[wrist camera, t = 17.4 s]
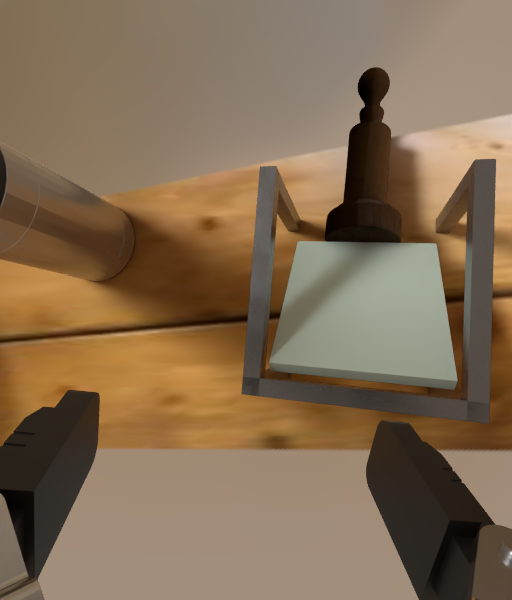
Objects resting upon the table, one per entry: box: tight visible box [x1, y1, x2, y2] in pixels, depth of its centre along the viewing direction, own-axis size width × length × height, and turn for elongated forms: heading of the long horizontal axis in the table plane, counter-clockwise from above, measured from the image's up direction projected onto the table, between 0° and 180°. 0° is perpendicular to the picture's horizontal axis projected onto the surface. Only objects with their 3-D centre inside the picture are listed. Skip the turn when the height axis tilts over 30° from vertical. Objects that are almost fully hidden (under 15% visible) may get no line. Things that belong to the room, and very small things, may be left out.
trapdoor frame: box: [242, 159, 496, 424], centre depth 32 cm, size 15×16×13 cm
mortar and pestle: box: [325, 68, 401, 243], centre depth 37 cm, size 7×6×18 cm
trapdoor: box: [269, 241, 458, 390], centre depth 31 cm, size 12×14×1 cm
